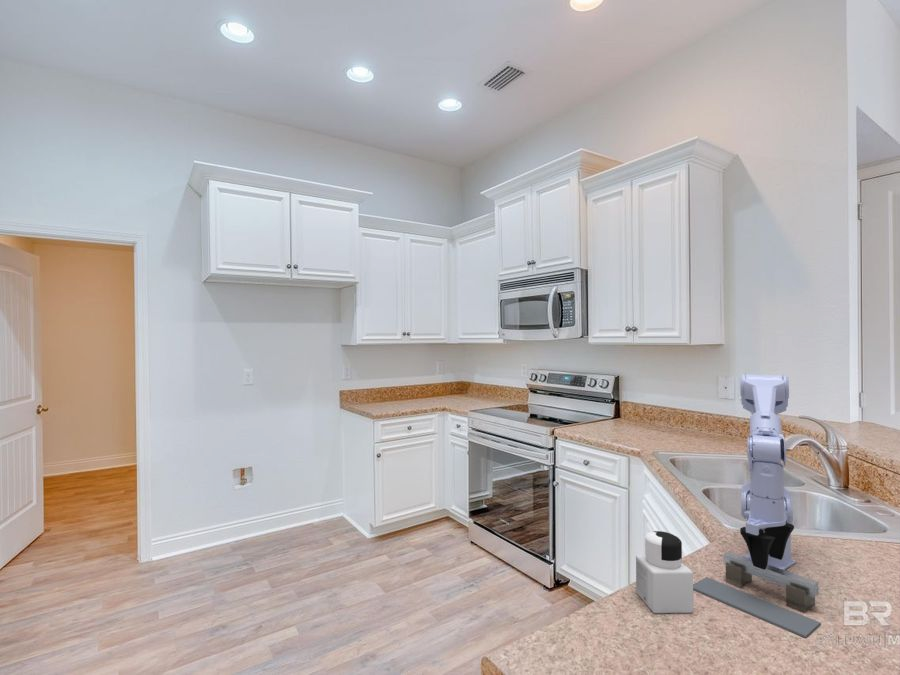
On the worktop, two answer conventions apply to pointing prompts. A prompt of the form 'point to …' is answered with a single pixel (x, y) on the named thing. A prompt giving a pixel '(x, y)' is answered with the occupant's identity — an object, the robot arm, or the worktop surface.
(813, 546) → the worktop surface
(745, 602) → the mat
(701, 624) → the worktop surface
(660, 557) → the lidar sensor
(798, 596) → the post
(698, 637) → the worktop surface
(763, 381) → the robot arm
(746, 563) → the rail
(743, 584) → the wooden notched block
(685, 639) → the worktop surface
